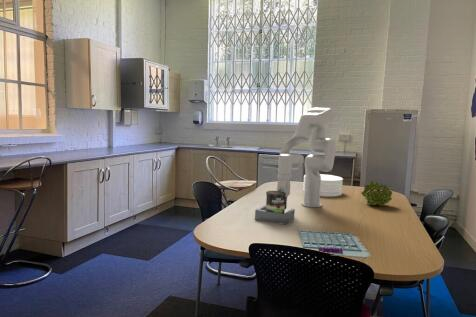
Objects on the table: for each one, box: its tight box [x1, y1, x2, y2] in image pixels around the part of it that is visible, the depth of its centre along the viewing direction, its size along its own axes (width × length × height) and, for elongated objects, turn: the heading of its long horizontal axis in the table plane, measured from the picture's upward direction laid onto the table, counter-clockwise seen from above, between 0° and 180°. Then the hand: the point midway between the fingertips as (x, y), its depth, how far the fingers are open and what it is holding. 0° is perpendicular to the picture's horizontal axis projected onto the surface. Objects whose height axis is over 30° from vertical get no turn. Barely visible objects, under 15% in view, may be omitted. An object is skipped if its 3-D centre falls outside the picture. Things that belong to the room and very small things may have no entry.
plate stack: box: [302, 173, 344, 197], centre depth 267 cm, size 28×28×12 cm
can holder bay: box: [254, 204, 296, 225], centre depth 192 cm, size 14×17×5 cm
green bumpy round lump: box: [360, 180, 393, 207], centre depth 231 cm, size 18×16×16 cm
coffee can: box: [265, 190, 286, 214], centre depth 192 cm, size 10×10×14 cm
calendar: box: [298, 229, 373, 259], centre depth 157 cm, size 27×28×2 cm
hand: (283, 208), depth 203 cm, fingers closed
